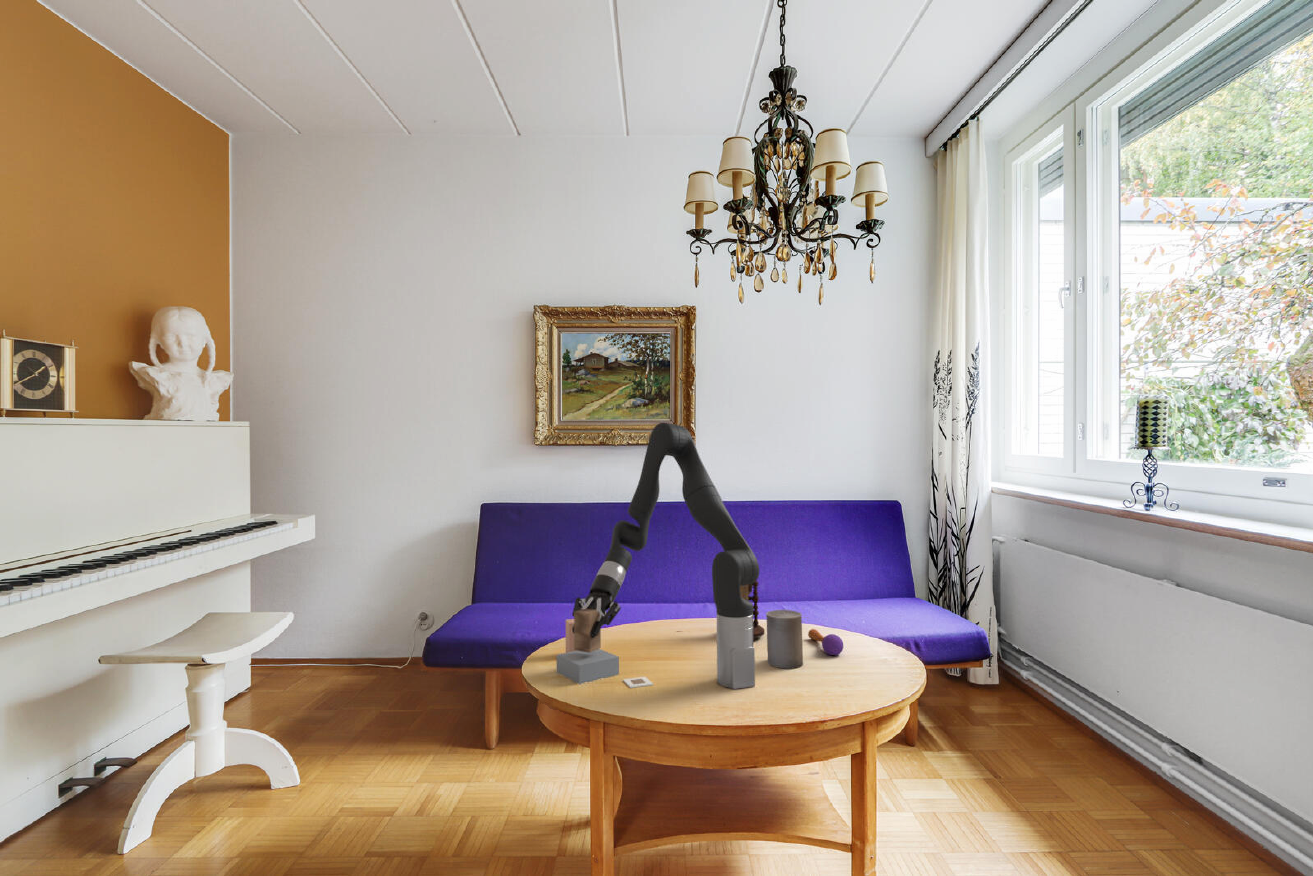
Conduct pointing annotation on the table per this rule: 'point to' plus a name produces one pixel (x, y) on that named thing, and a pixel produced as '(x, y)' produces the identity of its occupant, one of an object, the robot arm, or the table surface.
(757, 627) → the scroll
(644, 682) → the card
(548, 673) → the table surface
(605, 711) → the table surface
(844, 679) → the table surface
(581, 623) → the walnut block
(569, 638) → the terracotta block
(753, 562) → the robot arm
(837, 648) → the purple maraca
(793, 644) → the pillar candle
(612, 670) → the slate slab
